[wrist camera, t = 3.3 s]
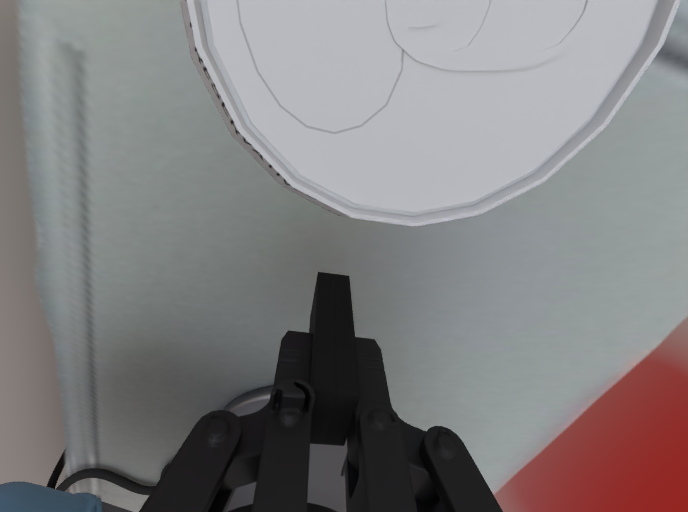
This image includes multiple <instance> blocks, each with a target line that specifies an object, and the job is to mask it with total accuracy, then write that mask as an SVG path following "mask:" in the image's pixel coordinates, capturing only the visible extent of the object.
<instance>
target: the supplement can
mask: <svg viewBox="0 0 688 512" xmlns="http://www.w3.org/2000/svg"><path fill="white" fill-rule="evenodd" d="M680 2H681V0H180V3H181V8H182V13H183V18H184V23H185V28H186V33H187V38H188V43H189V48H190V53H191V57H192V60H193V62H194V64H195V66H196V68H197V70H198V72H199V74H200V76H201V77H202V79H203V81H204V83H205V85H206V87H207V89H208V91H209V93H210V95H211V97H212V99H213V101H214V102H215V104H216V106H217V108H218V110H219V112H220V114H221V116H222V118H223V120H224V122H225V124H226V125H227V127H228V129H229V131H230V133H231V135H232V136H233V137H234V138H235V139H236V140H237V141H238V142H239V143H240V144H241V145H242V146H243V147H244V148H245V149H246V150H247V151H248V152H249V153H250V154H251V155H252V157H253V158H254V159H255V160H256V161H257V162H258V163H259V164H260V165H261V166H262V167H263V168H264V169H265V170H266V171H267V172H268V173H269V174H270V175H271V176H272V177H273V178H274V179H275V180H276V181H277V182H278V183H279V184H280V185H281V186H282V187H284V188H286V189H288V190H290V191H292V192H294V193H296V194H298V195H300V196H302V197H303V198H305V199H307V200H309V201H311V202H313V203H315V204H317V205H319V206H321V207H323V208H325V209H327V210H329V211H331V212H333V213H335V214H337V215H339V216H346V217H352V218H357V219H364V220H371V221H378V222H385V223H393V224H400V225H407V226H414V227H416V226H422V225H427V224H433V223H438V222H444V221H449V220H455V219H460V218H466V217H471V216H476V215H481V214H482V213H484V212H486V211H488V210H490V209H492V208H494V207H496V206H498V205H500V204H502V203H504V202H506V201H508V200H510V199H512V198H514V197H516V196H518V195H520V194H522V193H524V192H526V191H528V190H530V189H532V188H534V187H536V186H537V185H539V184H541V183H543V182H545V181H546V180H547V179H548V178H549V177H550V176H552V175H553V174H554V173H555V172H556V171H557V170H558V169H559V168H561V167H562V166H563V165H564V164H565V163H566V162H567V161H568V160H569V159H571V158H572V157H573V156H574V155H575V154H576V153H577V152H578V151H580V150H581V149H582V148H583V147H584V146H585V145H586V144H587V143H589V142H590V141H591V140H592V139H593V138H594V137H595V136H596V135H598V134H599V133H600V132H601V131H602V130H603V129H604V128H605V127H606V126H607V125H608V124H609V122H610V121H611V119H612V118H613V116H614V115H615V114H616V112H617V111H618V109H619V108H620V106H621V105H622V104H623V102H624V101H625V99H626V98H627V96H628V95H629V93H630V92H631V91H632V89H633V88H634V86H635V85H636V83H637V82H638V81H639V79H640V78H641V76H642V75H643V73H644V72H645V70H646V69H647V68H648V66H649V65H650V63H651V62H652V60H653V59H654V58H655V56H656V55H657V53H658V52H659V50H660V49H661V47H662V46H663V44H664V42H665V39H666V37H667V34H668V32H669V29H670V27H671V24H672V22H673V19H674V17H675V14H676V12H677V9H678V7H679V4H680Z"/></svg>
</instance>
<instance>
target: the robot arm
mask: <svg viewBox="0 0 688 512" xmlns="http://www.w3.org/2000/svg"><path fill="white" fill-rule="evenodd" d="M65 452H66V451H65V450H64V452H63V453H62V455H61V457H60V459H59V461H58V463H57V465H56V466H55V468H54V471H53V472H52V474H51V477H50V479H49V481H48V484H47V486H46V487H44V486H41V485H36V484H32V483H28V482H9V483H4V484H1V485H0V512H132V511H129V510H126V509H123V508H120V507H117V506H114V505H111V504H108V503H105V502H102V501H101V499H100V498H97V497H96V495H93V494H90V493H76V494H72V493H68V492H65V491H66V489H67V488H68V487H69V486H71V485H72V484H73V483H75V482H77V481H79V480H81V479H85V478H99V479H104V480H107V481H109V482H112V483H114V484H116V485H119V486H121V487H123V488H125V489H127V490H129V491H132V492H135V493H138V494H142V495H150V496H149V497H148V499H147V500H146V502H145V503H144V505H143V506H142V508H141V509H140V511H139V512H503V511H502V509H501V508H500V506H499V504H498V503H497V501H496V499H495V497H494V495H493V494H492V492H491V490H490V488H489V487H488V485H487V483H486V482H485V480H484V478H483V476H482V475H481V473H480V471H479V469H478V468H477V466H476V464H475V462H474V461H473V459H472V457H471V455H470V454H469V452H468V450H467V448H466V447H465V445H464V443H463V442H462V440H461V439H460V438H459V437H458V435H457V434H455V433H454V432H453V431H451V430H450V429H448V428H445V427H443V426H434V427H432V428H429V429H428V431H427V432H426V431H423V430H421V429H418V428H416V427H413V426H411V425H409V424H407V423H405V422H404V421H403V420H401V419H400V418H399V417H398V415H397V414H396V412H395V411H394V410H393V409H392V406H391V403H390V397H389V392H388V386H387V381H386V375H385V371H384V364H383V359H382V353H381V349H380V347H379V346H378V344H377V343H376V341H375V340H374V339H367V338H358V337H355V332H354V322H353V311H352V301H351V290H350V279H349V276H345V275H338V274H330V273H323V272H318V275H317V281H316V287H315V293H314V298H313V304H312V310H311V316H310V328H309V333H306V332H297V331H288V332H287V333H286V334H285V336H284V337H283V338H282V340H281V346H280V352H279V357H278V363H277V369H276V375H275V380H274V386H269V387H265V388H260V389H257V390H254V391H251V392H248V393H246V394H244V395H242V396H240V397H238V398H236V399H235V400H233V401H232V402H231V403H229V404H228V405H227V406H226V407H225V408H224V409H223V410H217V411H213V412H210V413H208V414H207V415H205V416H203V417H202V418H201V419H200V420H199V421H198V422H197V423H196V425H195V426H194V428H193V429H192V431H191V432H190V434H189V435H188V437H187V439H186V440H185V442H184V443H183V445H182V446H181V448H180V449H179V451H178V452H177V454H176V455H175V457H174V459H173V460H172V462H171V463H170V464H168V465H167V466H166V467H164V469H163V470H162V473H161V478H160V480H159V482H158V483H157V485H156V486H145V485H141V484H139V483H136V482H134V481H132V480H130V479H128V478H126V477H124V476H121V475H119V474H117V473H115V472H112V471H109V470H105V469H98V468H91V469H84V470H81V471H78V472H76V473H74V474H72V475H71V476H70V477H68V478H67V479H66V480H64V481H63V482H62V483H61V484H60V485H59V486H58V487H57V488H56V489H55V487H56V483H57V481H58V478H59V476H60V474H61V472H62V470H63V468H64V466H65V464H66V460H65V459H66V457H65V455H66V454H65Z"/></svg>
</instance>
